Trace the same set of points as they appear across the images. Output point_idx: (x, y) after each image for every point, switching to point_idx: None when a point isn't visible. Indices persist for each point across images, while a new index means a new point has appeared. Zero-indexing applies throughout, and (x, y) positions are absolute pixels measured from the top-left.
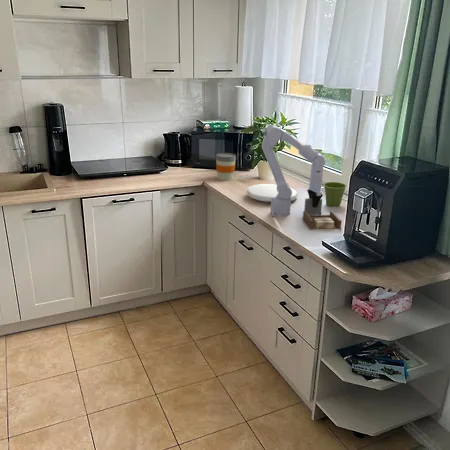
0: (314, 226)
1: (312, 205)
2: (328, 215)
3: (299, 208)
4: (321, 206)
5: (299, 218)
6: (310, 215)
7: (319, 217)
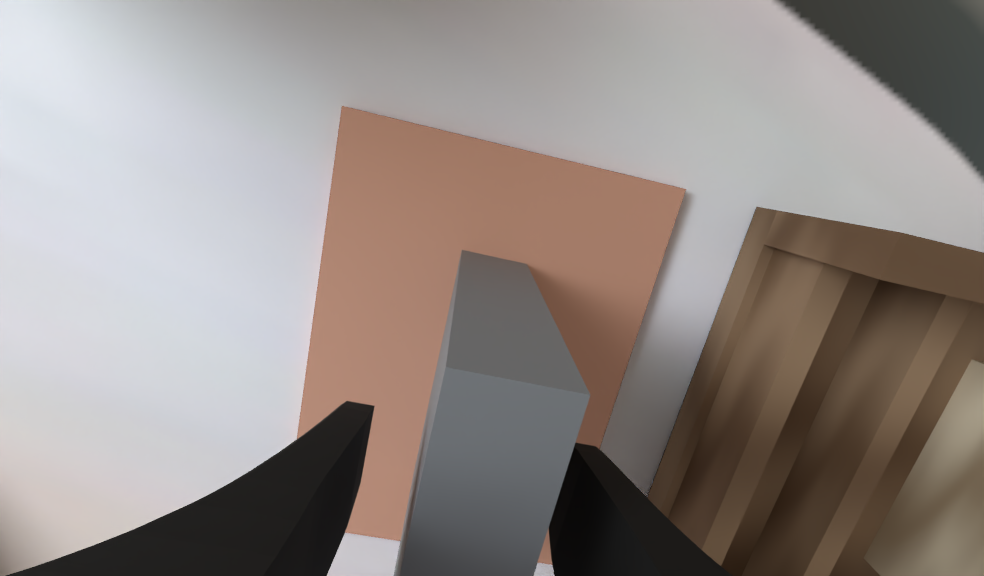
0: None
1: (555, 552)
2: (834, 300)
3: (130, 414)
4: (550, 317)
5: (536, 568)
6: None
7: (851, 489)
